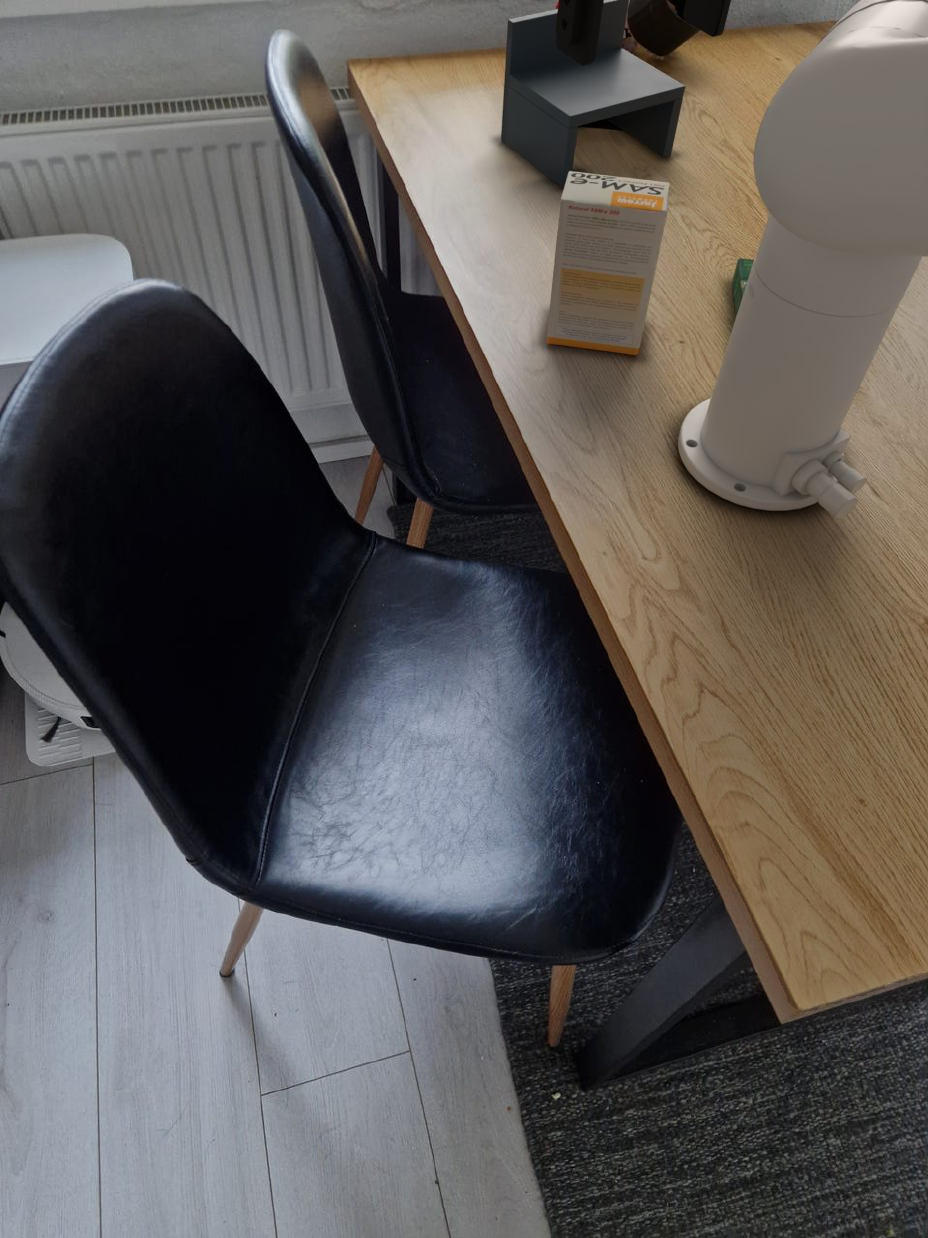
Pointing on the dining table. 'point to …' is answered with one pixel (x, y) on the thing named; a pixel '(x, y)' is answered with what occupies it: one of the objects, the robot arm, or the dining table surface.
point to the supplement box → (605, 261)
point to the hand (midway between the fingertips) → (639, 41)
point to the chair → (581, 92)
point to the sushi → (658, 25)
